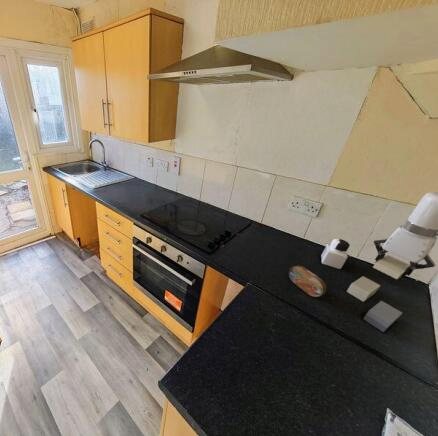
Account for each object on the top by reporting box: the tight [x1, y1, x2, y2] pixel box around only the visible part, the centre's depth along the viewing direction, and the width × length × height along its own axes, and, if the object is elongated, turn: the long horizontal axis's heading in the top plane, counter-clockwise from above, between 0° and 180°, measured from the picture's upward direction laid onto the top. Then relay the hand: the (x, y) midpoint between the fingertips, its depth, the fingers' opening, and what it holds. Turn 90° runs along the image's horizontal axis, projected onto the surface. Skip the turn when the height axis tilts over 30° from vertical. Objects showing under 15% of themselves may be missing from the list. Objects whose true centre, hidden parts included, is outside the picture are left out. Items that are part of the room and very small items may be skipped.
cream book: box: [372, 254, 410, 280], centre depth 84 cm, size 7×10×2 cm
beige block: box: [346, 276, 381, 303], centre depth 96 cm, size 6×10×5 cm, turn 118°
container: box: [320, 238, 351, 270], centre depth 111 cm, size 8×8×13 cm
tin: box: [288, 265, 327, 298], centre depth 97 cm, size 15×3×8 cm, turn 21°
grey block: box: [362, 300, 403, 333], centre depth 84 cm, size 6×10×5 cm, turn 118°
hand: (390, 268), depth 84 cm, fingers closed on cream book, 7 cm apart
